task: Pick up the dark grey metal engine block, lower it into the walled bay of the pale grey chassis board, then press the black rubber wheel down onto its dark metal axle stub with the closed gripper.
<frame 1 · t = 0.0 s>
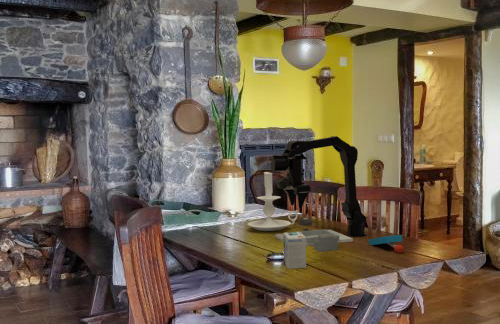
hand: (296, 206, 234), 15 cm above the table, tool pointing down, fingers open, 9 cm apart
candlestick: (273, 230, 262), on the table
engine block: (326, 249, 217), on the table
wheel: (305, 221, 244), point 7 cm above the table, slide at 2.0 cm
light bulb box: (294, 265, 195), on the table
chassis: (312, 239, 237), on the table
lever: (388, 249, 217), on the table
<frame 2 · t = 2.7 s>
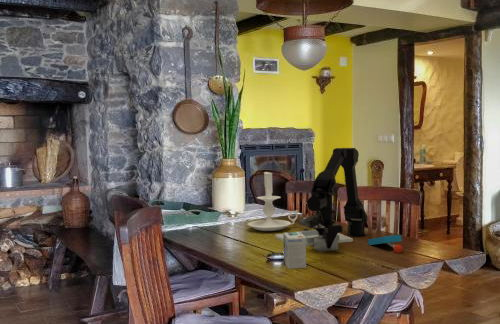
hand: (326, 246, 217), 1 cm above the table, tool pointing down, fingers closed on engine block, 5 cm apart
engine block: (326, 249, 217), on the table, touching gripper
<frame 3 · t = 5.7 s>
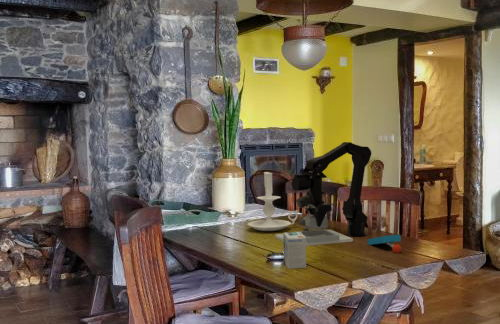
hand: (316, 225, 233), 7 cm above the table, tool pointing down, fingers closed on engine block, 5 cm apart
engine block: (316, 227, 233), point 6 cm above the table, touching gripper
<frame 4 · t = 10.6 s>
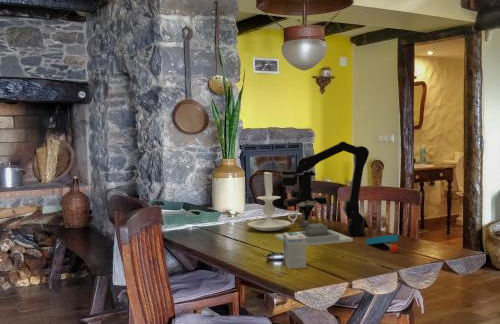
hand: (305, 220, 244), 7 cm above the table, tool pointing down, fingers closed, pressing on wheel
engine block: (316, 238, 233), point 1 cm above the table, touching chassis
wheel: (305, 223, 244), point 5 cm above the table, slide at 0.8 cm, touching gripper
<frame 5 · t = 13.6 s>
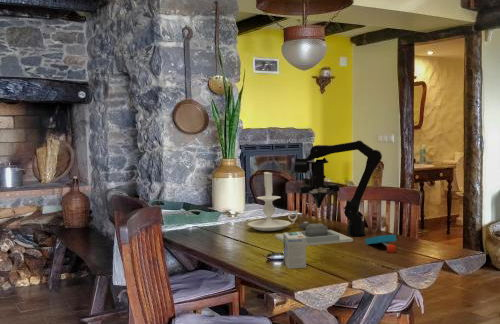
hand: (318, 207, 247), 12 cm above the table, tool pointing down, fingers closed
wheel: (305, 225, 244), point 5 cm above the table, slide at 0.2 cm
at the end: engine block inside the target area on the chassis (0.1 cm from its centre), point 1.2 cm above the chassis's base; the gripper is holding nothing; wheel slide at 0.2 cm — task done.
